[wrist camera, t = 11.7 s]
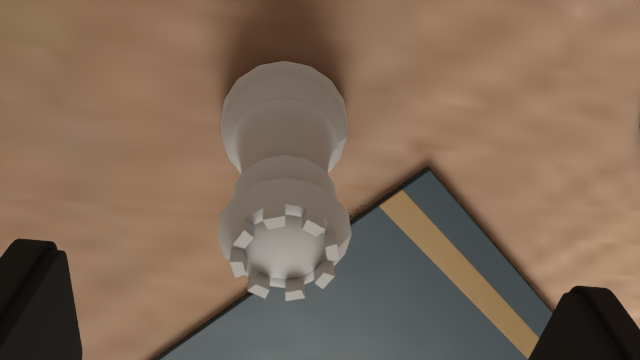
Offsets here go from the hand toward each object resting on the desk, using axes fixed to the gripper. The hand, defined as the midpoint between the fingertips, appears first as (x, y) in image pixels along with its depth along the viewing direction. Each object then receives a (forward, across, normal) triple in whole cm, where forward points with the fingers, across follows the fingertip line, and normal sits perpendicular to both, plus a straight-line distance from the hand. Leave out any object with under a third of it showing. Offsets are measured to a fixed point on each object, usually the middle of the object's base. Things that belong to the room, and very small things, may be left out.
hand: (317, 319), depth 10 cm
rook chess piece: (+10, +1, 0) cm, 10 cm away
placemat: (+10, -3, +14) cm, 18 cm away
